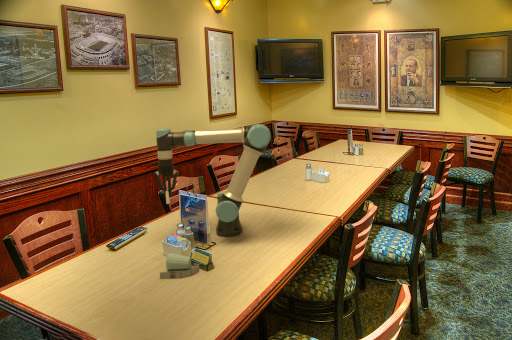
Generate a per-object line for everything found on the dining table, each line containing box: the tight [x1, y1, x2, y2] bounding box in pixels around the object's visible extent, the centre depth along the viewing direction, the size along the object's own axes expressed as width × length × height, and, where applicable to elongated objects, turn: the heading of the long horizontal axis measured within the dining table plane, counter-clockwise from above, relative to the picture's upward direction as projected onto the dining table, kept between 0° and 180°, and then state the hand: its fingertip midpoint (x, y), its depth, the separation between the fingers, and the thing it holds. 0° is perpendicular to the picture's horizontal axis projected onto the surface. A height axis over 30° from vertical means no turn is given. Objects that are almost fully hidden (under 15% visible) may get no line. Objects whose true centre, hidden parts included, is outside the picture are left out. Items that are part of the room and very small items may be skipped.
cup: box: [165, 252, 192, 271], centre depth 207 cm, size 8×8×10 cm
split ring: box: [159, 263, 200, 280], centre depth 206 cm, size 16×18×2 cm
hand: (168, 203), depth 233 cm, fingers closed
